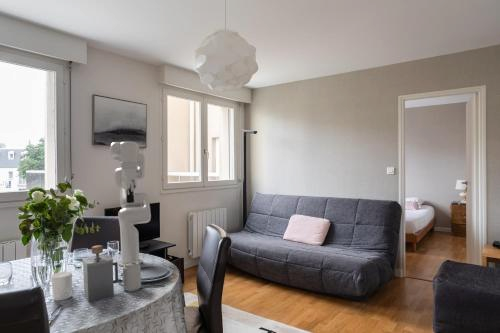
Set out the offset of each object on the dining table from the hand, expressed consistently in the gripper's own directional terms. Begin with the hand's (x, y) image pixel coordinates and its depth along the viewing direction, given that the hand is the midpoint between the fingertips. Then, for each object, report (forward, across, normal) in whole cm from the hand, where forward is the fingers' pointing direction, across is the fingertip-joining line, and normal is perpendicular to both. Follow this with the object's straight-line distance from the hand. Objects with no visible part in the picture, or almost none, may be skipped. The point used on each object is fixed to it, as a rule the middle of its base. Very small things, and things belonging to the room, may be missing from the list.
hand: (130, 202), depth 168 cm
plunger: (+30, +16, -19) cm, 39 cm away
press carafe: (+37, +16, -18) cm, 44 cm away
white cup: (+37, +8, -32) cm, 50 cm away
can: (+37, +18, -5) cm, 42 cm away
